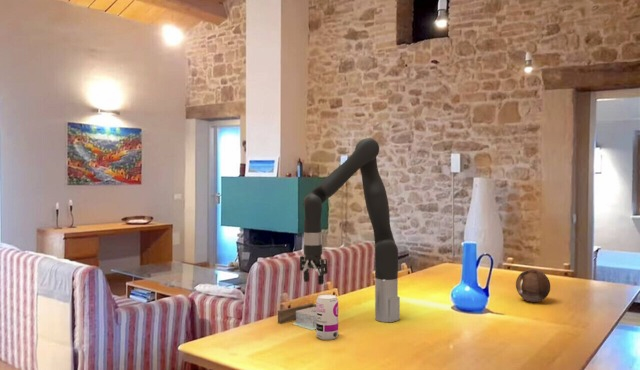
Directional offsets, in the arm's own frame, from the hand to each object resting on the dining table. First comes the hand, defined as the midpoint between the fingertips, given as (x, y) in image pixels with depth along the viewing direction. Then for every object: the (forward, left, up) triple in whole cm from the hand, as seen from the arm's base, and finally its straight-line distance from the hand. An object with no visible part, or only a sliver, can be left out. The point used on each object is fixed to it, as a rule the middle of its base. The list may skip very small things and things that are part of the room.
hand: (313, 282), depth 218 cm
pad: (-3, +3, -16) cm, 16 cm away
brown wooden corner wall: (+2, +3, -16) cm, 16 cm away
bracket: (-3, +3, -15) cm, 16 cm away
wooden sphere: (-47, -96, -16) cm, 108 cm away
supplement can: (-19, +11, -16) cm, 27 cm away
